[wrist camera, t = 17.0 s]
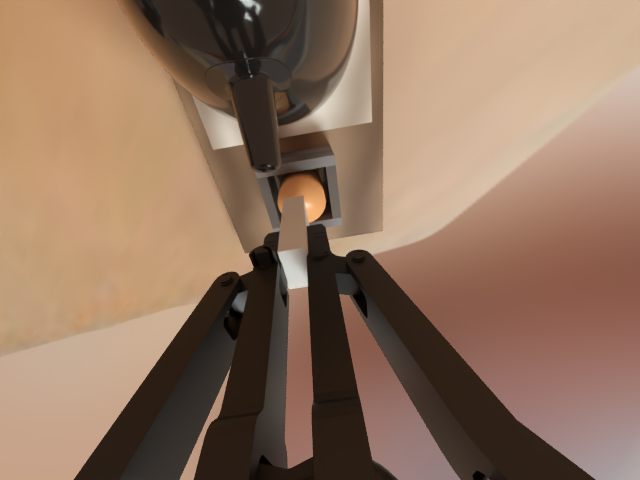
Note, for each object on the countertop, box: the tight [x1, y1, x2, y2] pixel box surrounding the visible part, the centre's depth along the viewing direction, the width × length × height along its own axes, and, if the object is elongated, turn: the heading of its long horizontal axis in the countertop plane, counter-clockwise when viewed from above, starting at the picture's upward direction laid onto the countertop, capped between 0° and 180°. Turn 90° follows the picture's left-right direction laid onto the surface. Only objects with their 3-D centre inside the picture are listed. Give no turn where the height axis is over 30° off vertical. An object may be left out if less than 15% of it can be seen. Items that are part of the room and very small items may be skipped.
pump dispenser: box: [117, 0, 359, 173], centre depth 10 cm, size 10×10×15 cm
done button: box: [278, 170, 326, 223], centre depth 21 cm, size 4×4×3 cm
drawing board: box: [172, 0, 383, 253], centre depth 19 cm, size 16×25×6 cm, turn 9°
